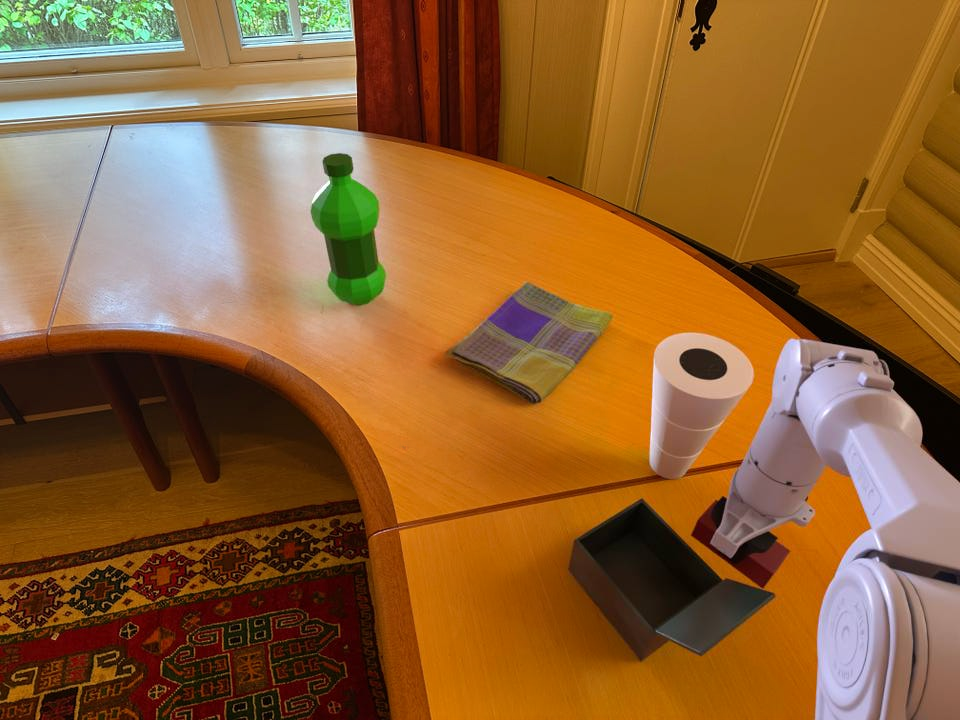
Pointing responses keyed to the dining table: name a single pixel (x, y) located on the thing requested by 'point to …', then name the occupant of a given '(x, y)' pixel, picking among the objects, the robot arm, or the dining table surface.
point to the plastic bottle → (349, 232)
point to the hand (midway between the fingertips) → (738, 543)
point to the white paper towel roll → (692, 397)
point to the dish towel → (531, 342)
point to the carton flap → (714, 615)
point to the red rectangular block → (752, 566)
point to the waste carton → (639, 574)
